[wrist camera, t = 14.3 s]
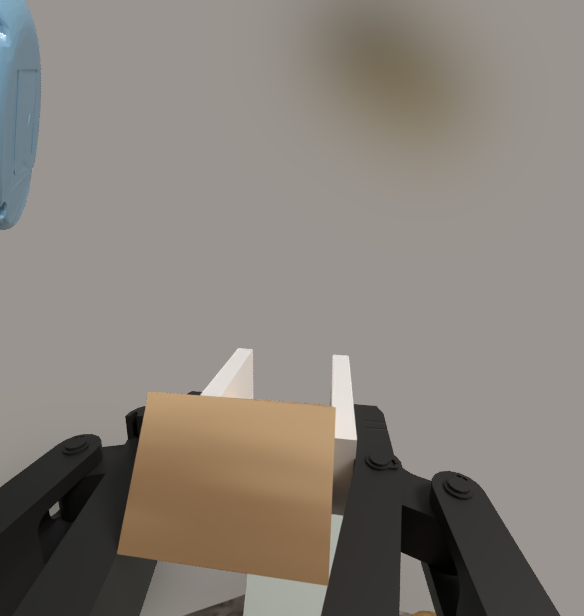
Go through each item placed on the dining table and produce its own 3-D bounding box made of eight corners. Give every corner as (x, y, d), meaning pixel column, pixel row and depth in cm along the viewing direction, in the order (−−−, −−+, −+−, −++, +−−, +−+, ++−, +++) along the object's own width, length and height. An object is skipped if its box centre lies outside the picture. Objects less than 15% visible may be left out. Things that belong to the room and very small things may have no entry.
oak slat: (328, 586, 6) (335, 407, 7) (116, 553, 6) (148, 391, 7) (327, 434, 34) (328, 405, 35) (289, 431, 35) (291, 401, 36)
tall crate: (364, 821, 28) (370, 450, 37) (210, 784, 30) (249, 437, 38) (349, 653, 48) (355, 434, 56) (255, 637, 49) (274, 426, 57)
